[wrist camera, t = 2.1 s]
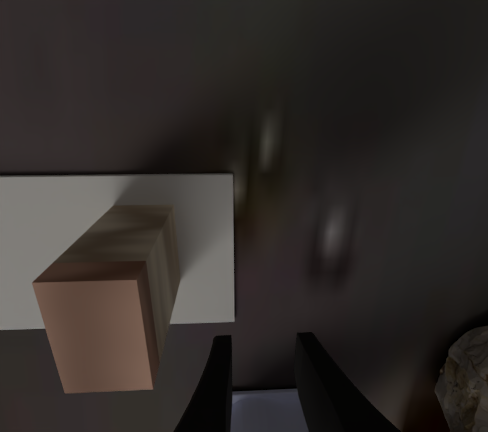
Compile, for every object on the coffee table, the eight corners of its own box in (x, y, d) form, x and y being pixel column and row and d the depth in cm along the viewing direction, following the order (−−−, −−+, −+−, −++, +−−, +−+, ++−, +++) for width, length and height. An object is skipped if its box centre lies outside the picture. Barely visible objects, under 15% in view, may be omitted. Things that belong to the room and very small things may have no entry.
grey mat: (232, 173, 20) (233, 174, 20) (234, 318, 24) (234, 321, 24) (-84, 176, 19) (-90, 178, 19) (-23, 327, 23) (-27, 330, 23)
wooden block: (173, 204, 20) (136, 279, 12) (180, 280, 22) (152, 389, 14) (112, 205, 20) (31, 282, 12) (125, 282, 22) (64, 393, 14)
